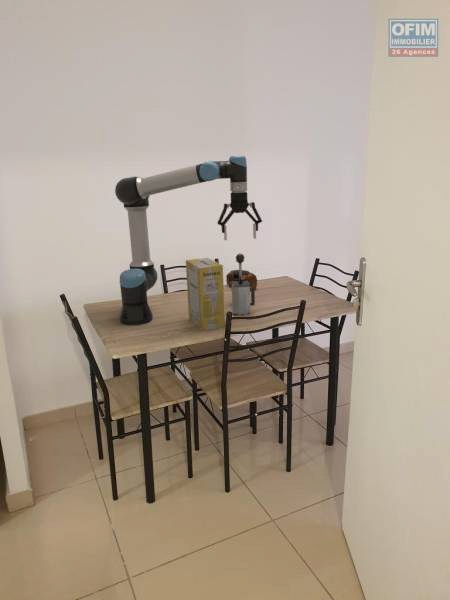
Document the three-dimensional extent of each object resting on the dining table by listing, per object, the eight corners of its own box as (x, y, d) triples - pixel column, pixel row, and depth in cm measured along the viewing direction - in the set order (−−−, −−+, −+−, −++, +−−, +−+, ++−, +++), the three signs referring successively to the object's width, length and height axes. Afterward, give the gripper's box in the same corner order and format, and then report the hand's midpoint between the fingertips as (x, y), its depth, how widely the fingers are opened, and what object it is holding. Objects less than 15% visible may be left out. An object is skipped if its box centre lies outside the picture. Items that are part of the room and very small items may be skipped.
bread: (257, 290, 263) (257, 272, 260) (241, 293, 258) (240, 275, 255) (241, 283, 278) (241, 266, 276) (225, 285, 274) (225, 269, 271)
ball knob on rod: (237, 285, 218) (236, 254, 214) (235, 283, 222) (235, 253, 218) (245, 285, 219) (245, 254, 214) (244, 283, 223) (243, 252, 218)
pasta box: (189, 318, 219) (185, 260, 211) (209, 315, 223) (207, 257, 215) (202, 330, 203) (199, 268, 195) (224, 326, 207) (222, 265, 199)
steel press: (234, 316, 220) (233, 285, 216) (231, 310, 228) (230, 281, 224) (256, 314, 221) (255, 284, 217) (252, 309, 229) (252, 279, 225)
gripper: (212, 193, 203) (214, 242, 209) (268, 191, 206) (268, 238, 212) (210, 192, 210) (212, 239, 216) (264, 190, 213) (265, 236, 219)
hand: (240, 239), depth 214 cm, fingers open, 13 cm apart
